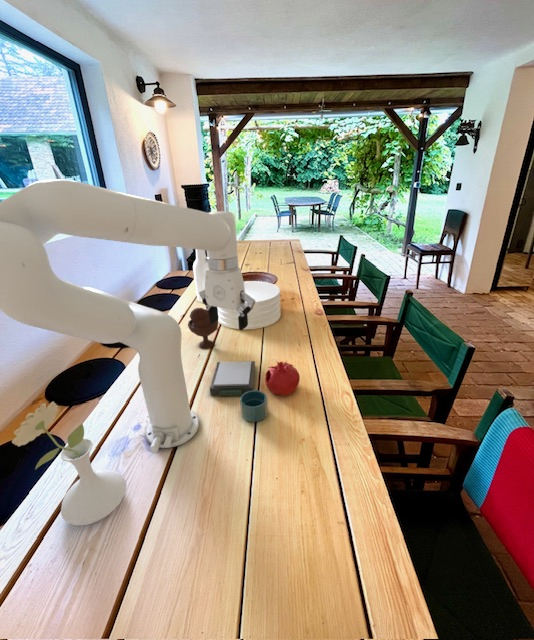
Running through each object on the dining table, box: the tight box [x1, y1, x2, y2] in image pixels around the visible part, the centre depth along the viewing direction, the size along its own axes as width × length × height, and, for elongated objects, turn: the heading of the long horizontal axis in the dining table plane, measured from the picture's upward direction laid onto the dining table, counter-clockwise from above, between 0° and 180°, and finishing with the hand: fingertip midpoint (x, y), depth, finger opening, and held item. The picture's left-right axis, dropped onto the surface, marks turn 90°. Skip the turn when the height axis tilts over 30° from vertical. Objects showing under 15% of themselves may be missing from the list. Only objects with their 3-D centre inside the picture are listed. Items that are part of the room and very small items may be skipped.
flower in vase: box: [11, 400, 127, 526], centre depth 57 cm, size 13×11×25 cm
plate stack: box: [217, 280, 282, 331], centre depth 140 cm, size 28×28×12 cm
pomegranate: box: [264, 360, 301, 397], centre depth 91 cm, size 10×10×9 cm
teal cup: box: [239, 389, 269, 423], centre depth 83 cm, size 7×7×5 cm
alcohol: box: [192, 249, 209, 304], centre depth 156 cm, size 9×9×30 cm
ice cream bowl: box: [187, 307, 219, 350], centre depth 116 cm, size 11×11×15 cm
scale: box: [209, 360, 256, 397], centre depth 97 cm, size 15×12×3 cm
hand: (228, 324), depth 88 cm, fingers open, 9 cm apart
